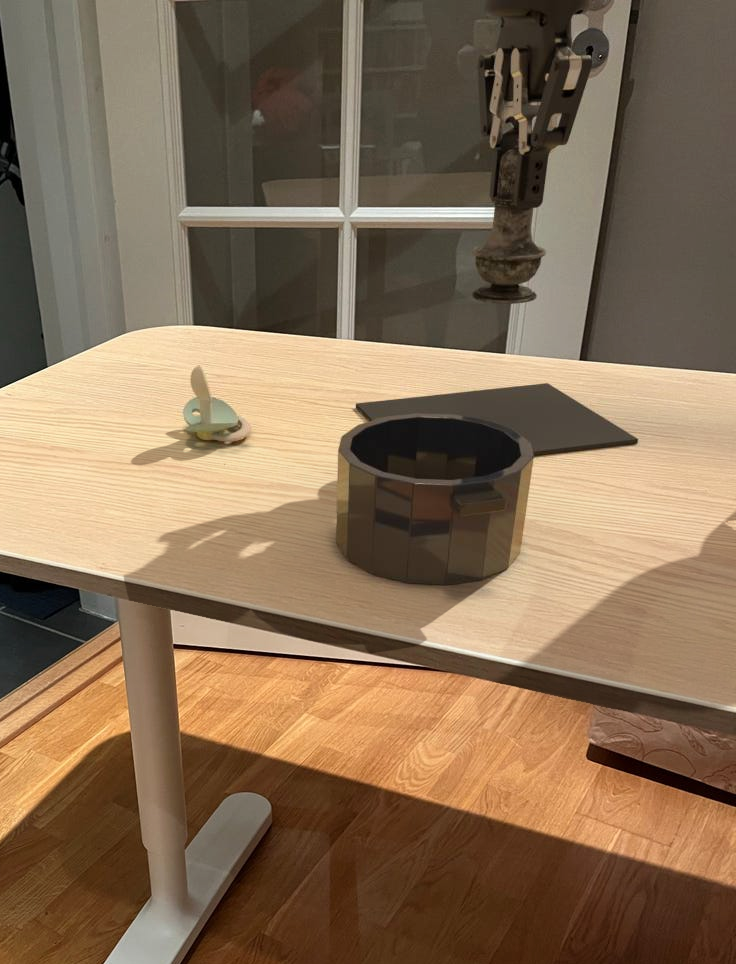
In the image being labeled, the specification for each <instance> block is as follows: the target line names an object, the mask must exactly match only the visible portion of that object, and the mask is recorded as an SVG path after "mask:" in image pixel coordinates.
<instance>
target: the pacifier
mask: <svg viewBox="0 0 736 964" xmlns="http://www.w3.org/2000/svg"><path fill="white" fill-rule="evenodd" d="M190 386H191V389H192V392H193V393H194V395H195V396H196V397H193V398H191V399H189V400H188V401H187V402H186V404H185V405H184V407H183V409H182V415H183V416H182V417H183V419H184V421H185V423H186V424H187V425H188V426H186V427H185V431H186V432H190V433H196V435H197V438H199V440H200V439H201V440H203V441H219V442H225V443H226V442H227V443H232V442H237V441H241V440H243V439H244V438H247V437H248V436H249V435H250V433H251V432H252V425H251V423H250V421H248V420H247V419H246V418H245V417H243V416H242V415H241V416H240V415H238V414H237V412H236V411H235V409H233V407H232V406H231V405H229V403H227V402H226V401H224V400H223V399H220V398H216V397H214V396H212V393H211V388H210V385H209V381H208V379H207V376H206V373H205V371H204V369H203V366H202V365H201V364H198V365H196V366H195V367H194V368H193V369H192V371H191V374H190ZM196 412H197V413H199V414H198V415H197V414H194V413H196ZM235 426H239V427H240V429H239V430H237V431H234V432H230V433H225V432H226V431H225V430H227V429H230V428H232V427H235Z"/></svg>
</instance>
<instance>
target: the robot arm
mask: <svg viewBox="0 0 736 964" xmlns="http://www.w3.org/2000/svg"><path fill="white" fill-rule="evenodd" d="M592 2H593V0H484V1H483V12H484V14H485V15H486V16H487V17H488V18H500V19H501V24H500V29H499V34H498V36H497V40H496V45H495V51H494V52H492V53H490V54H481V55H479V56H478V60H477V85H478V101H479V102H478V105H479V120H480V121H479V122H480V135H481V137H482V138H489V147H490V148H491V149H494V150H493V155H492V165H491V166H492V168H491V176H490V185H489V198H490V200H492V199H493V198H494V197H496V196H497V190H498V180H499V170H500V161H501V158H502V156H503V155H504V154H505V153H506V152H507V151H509V150H511V149H514V148H515V146H518V141H517V140H518V139H519V152H520V154H523V155H518V157H517V166H516V175H515V184H514V193H513V205H514V206H515V207H517V208H520V209H525V208H533V209H537V208H540V207H541V206H542V204H543V201H544V195H545V187H546V178H547V170H548V163H549V156H550V154H551V153H554V151H555V148H557V147H558V146H566V145H567V144H568V142H569V139H570V137H571V133H572V130H573V127H574V124H575V121H576V117H577V114H578V111H579V109H580V104H581V103H582V98H583V96H584V92H585V89H586V87H587V83H588V80H589V77H590V73H591V70H592V68H593V67H592V66H593V58H592V56H591V55H589V54H583V55H580V54H579V55H577V54H576V53H575V52H574V51H573V50H572V48H573V36H572V34H573V33H572V18H573V16H575V15H577V16H579V15H584V14H586V13H588V11H589V10H590V9H591V7H592ZM539 103H540V104H539ZM560 115H561V116H560ZM559 116H560V118H559V121H558V117H559ZM533 121H534V124H533ZM557 122H558V123H557Z"/></svg>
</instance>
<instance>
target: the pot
mask: <svg viewBox="0 0 736 964" xmlns="http://www.w3.org/2000/svg"><path fill="white" fill-rule="evenodd" d="M534 458H535V456H534V455H533V451H532V446H531V443H530V442H529V441H528V440H526V439H525V438H524V437H522V436H521V435H520V434H518V433H517V432H516V431H514V430H513V429H510V428H507V427H504V426H502V425H499V424H496V423H493V422H490V421H487V420H483V419H477V418H471V417H465V416H459V415H451V414H417V413H416V414H407V415H398V416H388V417H383V418H374V420H373V421H369V420H368V421H366V422H363V423H360V424H357V425H355V426H353V428H351V429H349V430H348V431H347V432H346V433H344V434H342V435H341V437H340V441H339V445H338V449H337V480H336V481H337V482H336V484H337V485H336V521H335V522H336V523H335V525H336V527H335V543H336V546H337V547H338V549H339V550H340V552H341V553H342V554H343V556H344V558H345V559H346V560H347V561H348V562H350V563H352V564H354V565H355V566H357V567H359V568H361V569H363V570H364V571H366V572H368V573H370V574H372V575H375V576H379V577H381V578H386V579H389V580H393V581H398V582H402V583H405V584H406V583H407V584H418V585H419V584H420V585H436V586H437V585H438V586H439V585H440V586H449V585H456V584H463V583H468V582H469V583H470V582H476V581H477V582H478V581H482V580H485V579H487V578H490V577H492V576H494V575H497V574H498V573H501V572H503V571H505V570H508V568H509V567H510V566H511V565H512V564H513V563H514V561H515V560H516V559H517V557H518V556H519V555H520V554H521V550H522V542H523V536H524V528H525V523H526V515H527V508H528V502H529V501H528V499H529V494H530V487H531V480H532V474H533V473H532V472H533V465H534Z"/></svg>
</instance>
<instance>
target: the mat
mask: <svg viewBox="0 0 736 964" xmlns="http://www.w3.org/2000/svg"><path fill="white" fill-rule="evenodd" d="M355 408H356V410H358V411H359V412H360V413H361V415H363V417H365V418H366V419H367V421H368V422H369V421H373V420H374V418H383V417H388V416H398V415H407V414H416V413H417V414H451V415H459V416H465V417H471V418H477V419H483V420H487V421H490V422H493V423H496V424H499V425H502V426H504V427H507V428H510V429H513V430H514V431H516V432H517V433H518V434H520V435H521V436H522V437H524V438H525V439H526V440H528V441H529V442H530V443H531V446H532V451H533V455H534V457H536V456H542V455H551V454H559V453H567V452H569V453H570V452H575V451H577V452H578V451H584V450H594V449H601V448H608V447H617V446H618V447H619V446H625V445H626V446H627V445H634V444H638V443H639V438H638V437H636V436H635V435H633V434H631V433H629V432H628V431H626V430H624V429H623V428H621V427H620V426H618V425H616V424H615V423H613V422H611V421H610V420H609V419H606V418H605V417H603V416H602V415H600V414H599V413H597V412H595V411H593V410H592V409H590V408H589V407H587V406H586V405H584V404H582V403H580V402H579V401H577V400H576V399H574V398H573V397H571V396H570V395H567V393H565V392H563V391H561V390H560V389H558V388H556V387H555V386H553V385H551V384H550V383H549V382H545V383H536V384H528V385H526V384H525V385H516V386H507V387H497V388H489V389H478V390H470V391H469V390H467V391H461V392H450V393H442V394H432V395H431V394H430V395H423V396H422V395H421V396H413V397H405V398H403V397H402V398H394V399H385V400H377V401H376V400H375V401H366V402H357V403H355Z"/></svg>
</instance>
